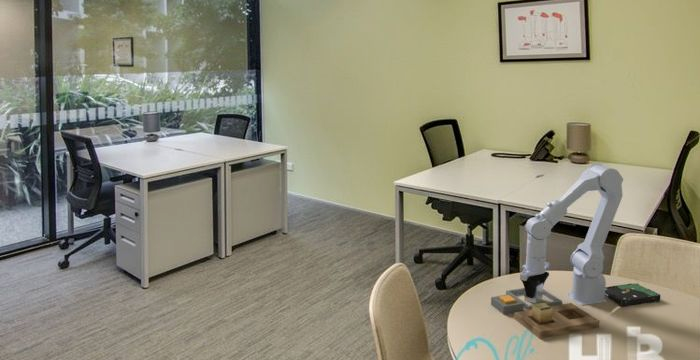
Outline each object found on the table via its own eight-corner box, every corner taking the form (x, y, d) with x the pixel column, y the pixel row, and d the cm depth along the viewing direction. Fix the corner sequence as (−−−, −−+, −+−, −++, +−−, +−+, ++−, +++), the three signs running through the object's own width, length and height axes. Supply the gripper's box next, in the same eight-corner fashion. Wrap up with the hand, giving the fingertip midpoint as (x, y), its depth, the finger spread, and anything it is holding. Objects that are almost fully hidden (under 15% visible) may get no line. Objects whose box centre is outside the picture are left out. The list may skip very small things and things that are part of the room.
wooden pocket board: (570, 310, 157) (571, 302, 157) (599, 328, 146) (599, 320, 145) (514, 320, 152) (514, 312, 151) (539, 340, 141) (539, 331, 140)
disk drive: (621, 309, 158) (660, 302, 162) (622, 301, 158) (661, 294, 161) (598, 295, 168) (635, 289, 172) (598, 287, 168) (636, 281, 171)
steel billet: (530, 296, 166) (531, 278, 165) (542, 300, 164) (543, 282, 162) (524, 300, 164) (525, 282, 163) (535, 304, 161) (536, 286, 160)
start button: (508, 303, 161) (509, 295, 160) (515, 308, 158) (515, 299, 157) (498, 305, 160) (499, 296, 159) (505, 310, 157) (505, 301, 156)
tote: (537, 291, 171) (538, 285, 171) (561, 306, 160) (562, 300, 159) (505, 296, 168) (506, 290, 167) (528, 312, 156) (528, 306, 156)
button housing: (510, 302, 163) (510, 294, 163) (523, 312, 157) (523, 303, 156) (490, 305, 161) (491, 297, 161) (503, 315, 155) (503, 306, 154)
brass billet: (542, 321, 150) (543, 301, 149) (551, 327, 146) (552, 307, 145) (531, 323, 149) (532, 303, 148) (539, 329, 145) (540, 309, 144)
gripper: (536, 246, 168) (533, 284, 171) (511, 257, 159) (510, 297, 162) (556, 251, 163) (553, 291, 166) (532, 263, 154) (530, 305, 156)
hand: (533, 295), depth 163 cm, fingers closed on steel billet, 4 cm apart
